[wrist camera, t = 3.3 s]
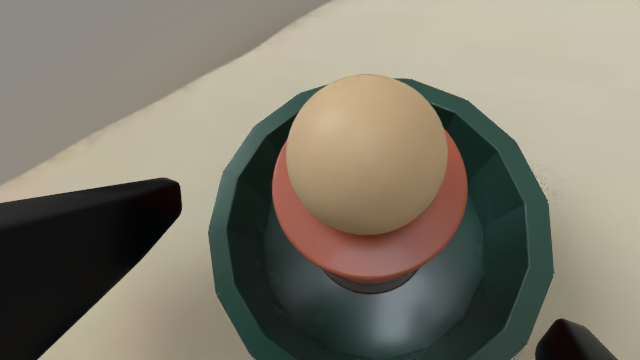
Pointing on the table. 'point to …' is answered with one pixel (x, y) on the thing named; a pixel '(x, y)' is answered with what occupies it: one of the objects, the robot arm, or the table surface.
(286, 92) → the table surface
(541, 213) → the pot
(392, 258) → the peg doll
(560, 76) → the table surface
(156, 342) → the table surface
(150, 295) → the table surface
